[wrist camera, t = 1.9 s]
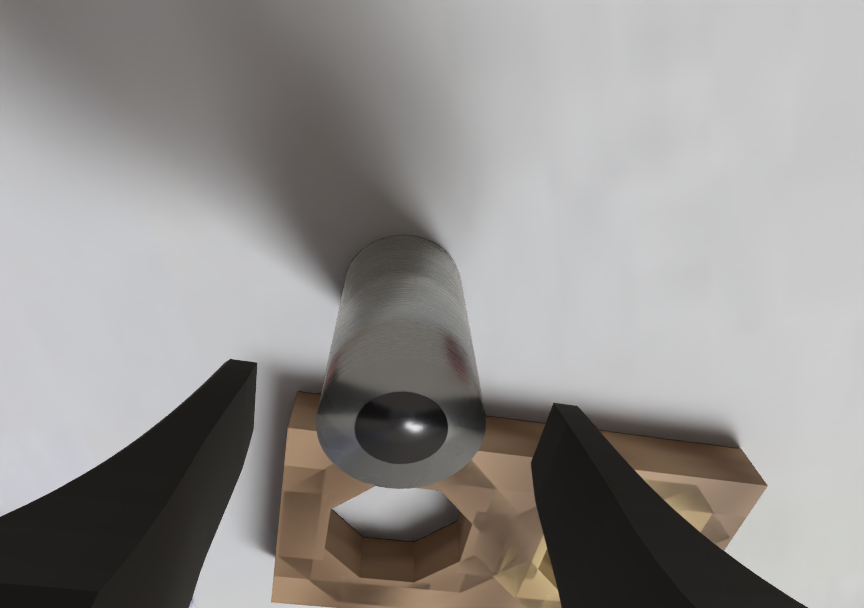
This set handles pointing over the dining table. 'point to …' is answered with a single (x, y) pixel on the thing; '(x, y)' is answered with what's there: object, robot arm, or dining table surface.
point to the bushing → (401, 369)
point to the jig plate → (474, 521)
